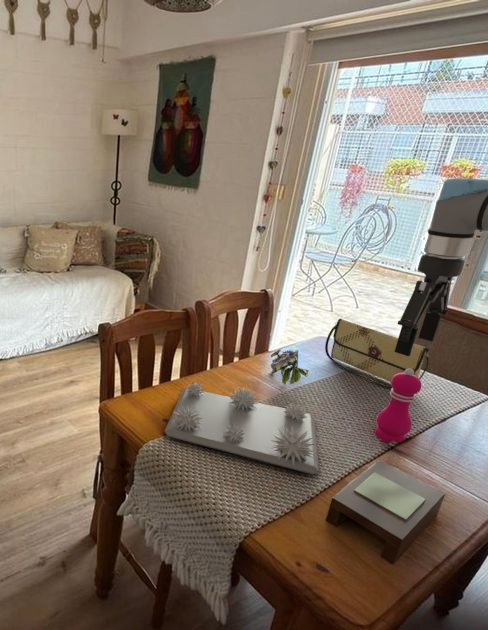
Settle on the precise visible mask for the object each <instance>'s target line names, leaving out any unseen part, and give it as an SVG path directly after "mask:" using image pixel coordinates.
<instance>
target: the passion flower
mask: <svg viewBox="0 0 488 630" xmlns="http://www.w3.org/2000/svg"><path fill="white" fill-rule="evenodd" d="M282 350H283V349H282V348H279V349H277V350H276V351H274V352H273V353H272V354H270V358H273V357H275V356H276V357H275V358H274V359H272V363H271V364H270V368H271V369H272V370H271V371H270V374H271V375H273V374H276V373H277V372H278V371H280V374H281V375H282V377H281V383H282V384H283V385H284V386H286V385H287V382H288V381H289V380H290V381H289V385H293V384H295V383H298V382H299V381H300V380H301V378H302V376H304V377H305V378H307V377H308V374H309V371H310V369H306V368H305V369H304V368H300V367H299V350H297V349H296V350H295V351H294V350H285V351H282ZM281 351H282V353H281ZM301 375H302V376H301Z"/></svg>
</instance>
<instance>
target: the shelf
mask: <svg viewBox="0 0 488 630" xmlns="http://www.w3.org/2000/svg"><path fill="white" fill-rule="evenodd" d="M445 496H446V492H444V491H442V490H440V489H439V488H437V487H435V486H432V485H431V484H429V483H427V482H424V481H423V480H420V479H419V478H416V477H415V476H412V475H411V474H409V473H406V472H404V471H402V470H400V469H399V468H396V467H394V466H393V465H390V464H389V463H386V462H385V461H383V460H381V459H377V461H375V462H374V463H373V464H371V465H370V466H369V467H368V468H367V469H365V470H364V471H363V472H362V473H360V474H359V475H358V476H357V477H356V478H354V479H353V480H351V481H350V482H349V483H348V484H347V485H346V486H344V487H343V488H341V490H340V491H338V492H336V494H334V495H333V496H332V497H331V500H330V503H329V508H328V511H327V515H326V518H325V521H326V522H327V523H329V524H330V525H331V526H333V527H335V528H337V527H338V526H339V525H340V524H341V523H343V521H345V520H346V519H347V518H350V519H351V520H352V521H354V522H356V523H358V524H360V525H361V526H363V527H364V528H366V529H367V530H369V531H371V532H372V533H374V534H376V535H377V536H379V537H381V538H382V539H383V540H385V543H384V547H383V549H382V553H381V556H380V557H381V558H382V559H383V560H385V561H387V562H388V563H390V564H391V565H395V563H397V561H398V560H399V559H400V558H401V557H402V556H403V554H404V553H406V552H407V550H408V549H409V548H410V547H411V546H412V545H413V543H414V542H415V541H416V540H417V539H418V538H419V536H421V534H422V533H423V532H424V531H425V530H426V529H427V528H428V527H429V525H431V524H432V522H433V521H434V520H435V519H436V518H437V516H438V514H439V512H440V509H441V508H442V504H443V501H444V499H445Z"/></svg>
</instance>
